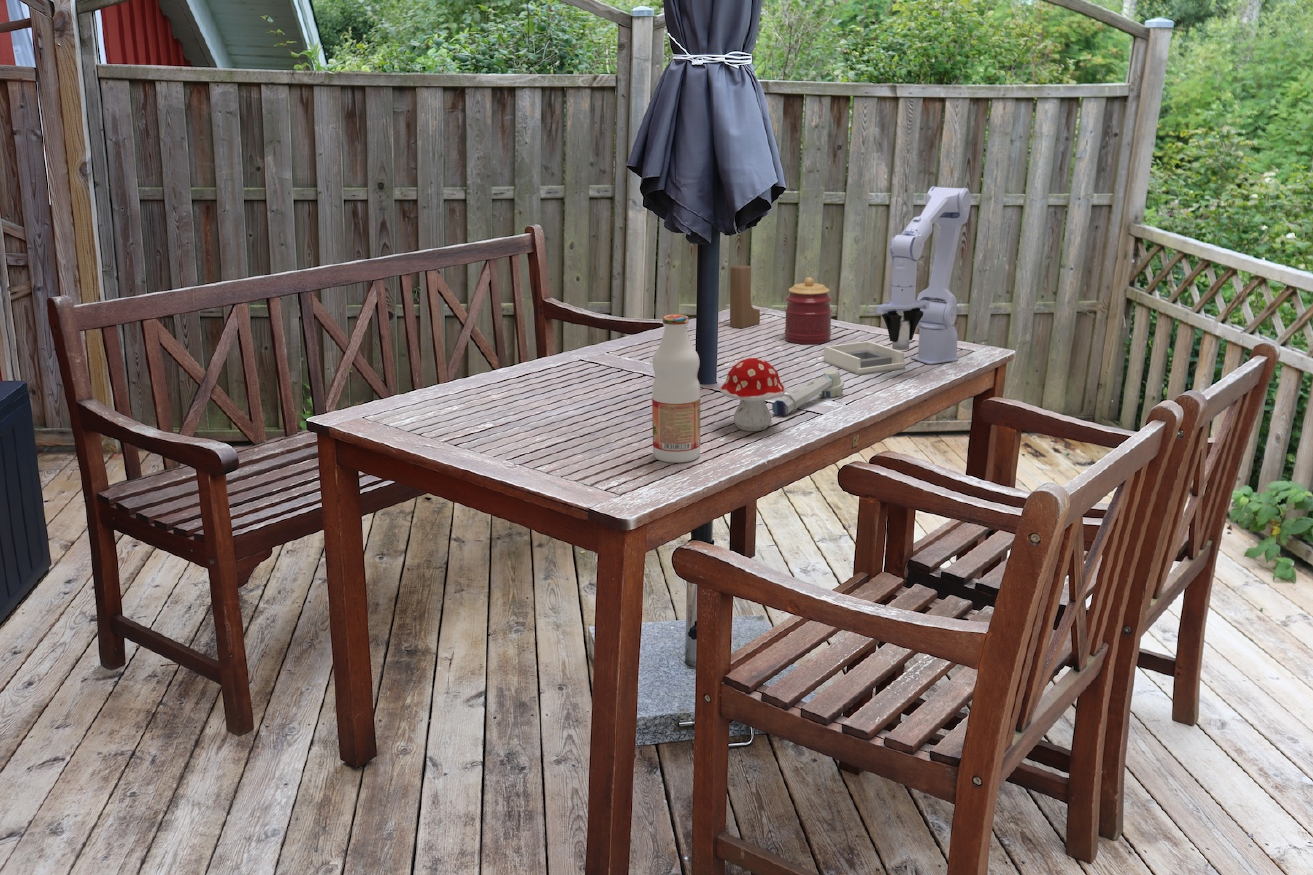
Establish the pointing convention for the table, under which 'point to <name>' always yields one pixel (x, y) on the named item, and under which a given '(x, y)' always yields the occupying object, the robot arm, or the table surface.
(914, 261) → the robot arm
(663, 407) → the fruit juice
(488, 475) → the table surface
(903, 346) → the metal plug
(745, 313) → the wooden block
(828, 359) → the walled box
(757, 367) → the decorative mushroom
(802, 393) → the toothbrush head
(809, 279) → the canister
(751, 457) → the table surface
